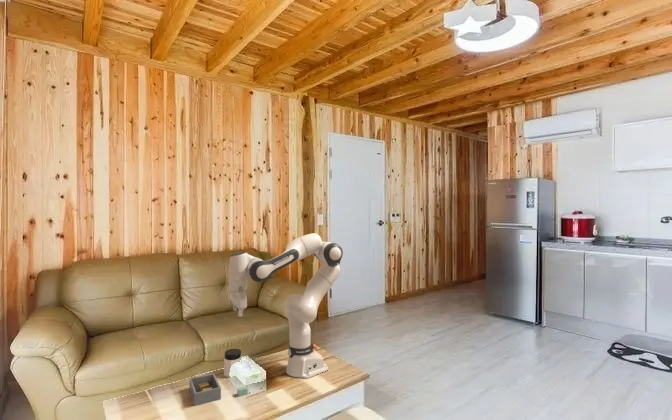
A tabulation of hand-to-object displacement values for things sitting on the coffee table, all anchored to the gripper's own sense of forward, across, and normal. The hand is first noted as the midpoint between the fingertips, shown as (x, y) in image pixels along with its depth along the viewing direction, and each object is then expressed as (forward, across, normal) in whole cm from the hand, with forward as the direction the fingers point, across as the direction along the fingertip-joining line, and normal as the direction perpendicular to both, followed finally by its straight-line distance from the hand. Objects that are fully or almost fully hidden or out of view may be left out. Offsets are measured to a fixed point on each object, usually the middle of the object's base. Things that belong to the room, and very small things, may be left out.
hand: (237, 313), depth 174 cm
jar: (+34, +8, 0) cm, 35 cm away
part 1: (+33, -2, +16) cm, 37 cm away
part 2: (+33, -8, +15) cm, 38 cm away
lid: (+35, -8, +1) cm, 36 cm away
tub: (+34, -6, +16) cm, 38 cm away
